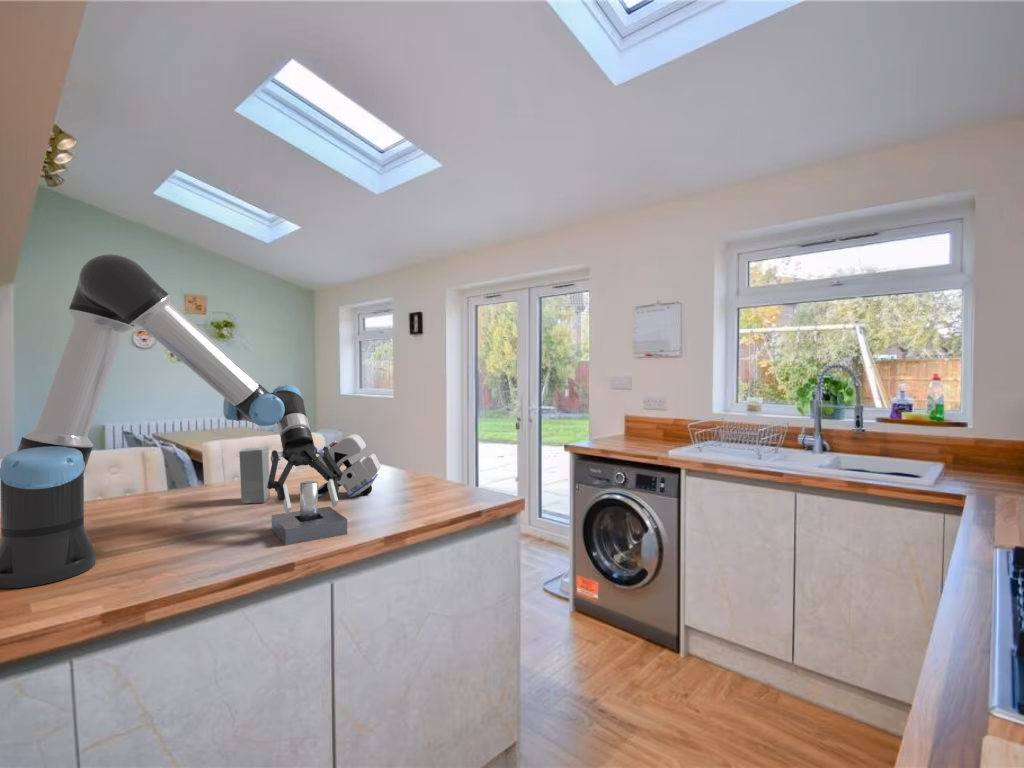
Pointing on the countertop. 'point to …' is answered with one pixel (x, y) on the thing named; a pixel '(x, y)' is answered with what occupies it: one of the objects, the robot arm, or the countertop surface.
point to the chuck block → (308, 526)
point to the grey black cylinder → (308, 500)
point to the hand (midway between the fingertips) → (312, 507)
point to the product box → (254, 475)
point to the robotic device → (352, 466)
